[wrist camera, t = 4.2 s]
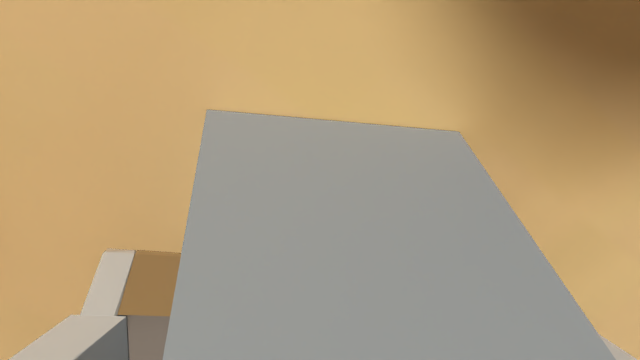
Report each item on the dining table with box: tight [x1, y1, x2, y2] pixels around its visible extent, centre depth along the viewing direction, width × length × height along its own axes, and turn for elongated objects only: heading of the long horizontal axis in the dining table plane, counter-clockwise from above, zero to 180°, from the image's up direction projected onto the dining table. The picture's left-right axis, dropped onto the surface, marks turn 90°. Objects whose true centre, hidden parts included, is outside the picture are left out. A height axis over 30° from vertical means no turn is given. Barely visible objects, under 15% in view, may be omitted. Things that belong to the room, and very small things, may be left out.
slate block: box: [163, 110, 616, 360], centre depth 10 cm, size 5×5×6 cm
